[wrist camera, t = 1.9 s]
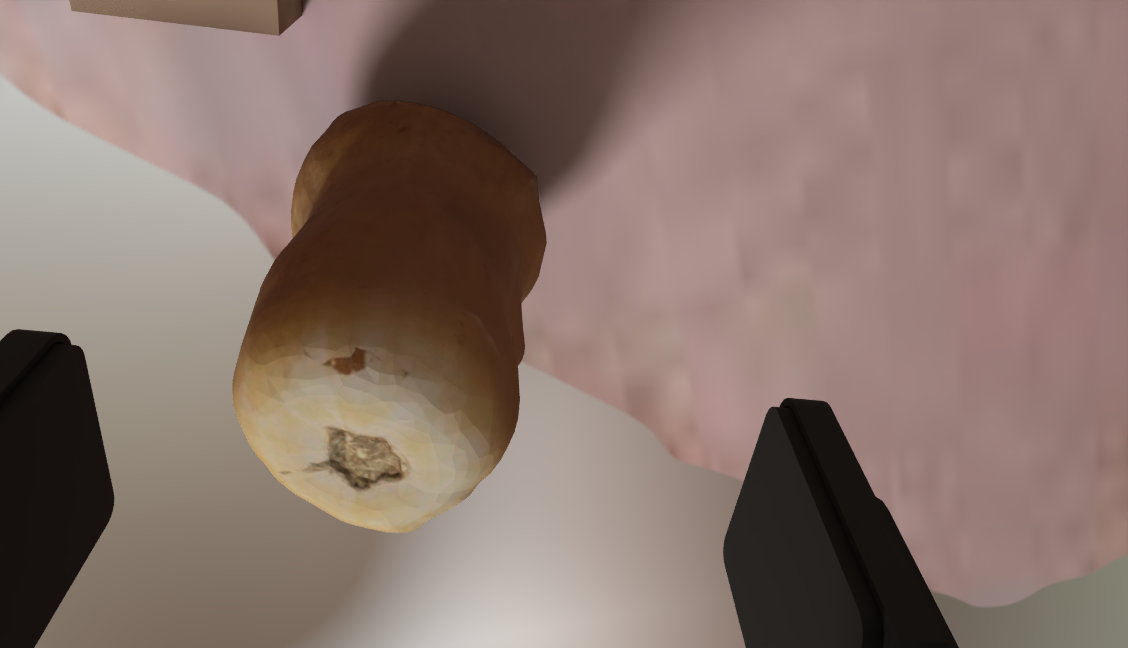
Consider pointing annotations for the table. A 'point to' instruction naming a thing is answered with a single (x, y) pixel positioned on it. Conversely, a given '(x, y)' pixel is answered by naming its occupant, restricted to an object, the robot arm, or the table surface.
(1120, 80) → the table surface
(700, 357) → the table surface
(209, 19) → the beige square block
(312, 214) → the butternut squash
